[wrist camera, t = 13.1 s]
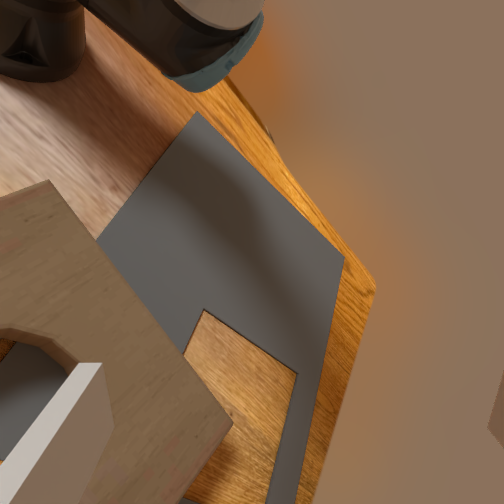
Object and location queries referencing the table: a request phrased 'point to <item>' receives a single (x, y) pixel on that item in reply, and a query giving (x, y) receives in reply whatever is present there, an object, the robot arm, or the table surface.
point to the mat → (210, 281)
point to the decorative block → (105, 350)
